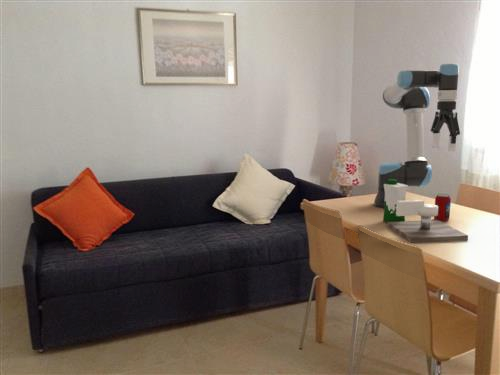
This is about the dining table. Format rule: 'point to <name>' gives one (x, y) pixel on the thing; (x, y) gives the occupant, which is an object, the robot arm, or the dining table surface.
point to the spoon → (416, 208)
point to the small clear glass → (425, 223)
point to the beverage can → (443, 207)
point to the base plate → (426, 232)
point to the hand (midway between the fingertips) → (443, 149)
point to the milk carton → (393, 200)
